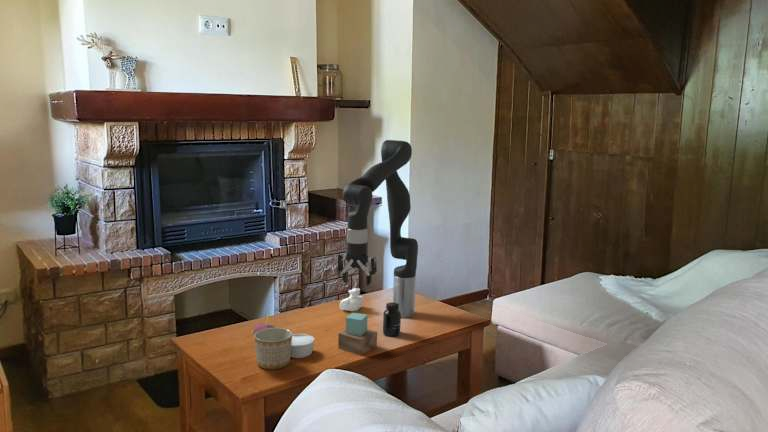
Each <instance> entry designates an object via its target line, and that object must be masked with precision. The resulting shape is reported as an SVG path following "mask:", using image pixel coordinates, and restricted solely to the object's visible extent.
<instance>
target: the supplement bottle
mask: <svg viewBox="0 0 768 432" xmlns="http://www.w3.org/2000/svg"><path fill="white" fill-rule="evenodd" d="M385 304H386V305H385V310H384V311H383V315H382V316H383V317H382V334H383V335H384V336H385V337H398V336H399V335H400V334H401V324H402V323H401V312H400V311H399V310H398V309H399V304H398V303H394V302H393V301H392V302H391V301H390V302H386V303H385Z"/></svg>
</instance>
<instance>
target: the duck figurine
mask: <svg viewBox="0 0 768 432" xmlns="http://www.w3.org/2000/svg"><path fill="white" fill-rule="evenodd" d="M348 293H349V297H347V298H344V299H342V300H341V301H340V302H339V308H340V310H341V311H347V312H348V311H349V312H357V311H358V310H359V309H361V308H362V305H363V304H364V301H365V298H364V297H363V295H360V294H361V288H357V287H353V288H352V289H348Z"/></svg>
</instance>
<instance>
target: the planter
mask: <svg viewBox="0 0 768 432" xmlns="http://www.w3.org/2000/svg"><path fill="white" fill-rule="evenodd" d="M292 335H293V332H292V331H291V330H290V329H287V328H283V327H275V328H267V329H263V330H260V331H258V332H256V333H255V335H253V336H254V346H255V354H256V362H257V365H258V366H259V367H260V368H263V369H266V370H277V369H283V368H285V367H286V366H288V365H289V364H290V362H291V357H290V355H291V344H292Z"/></svg>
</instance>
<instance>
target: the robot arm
mask: <svg viewBox="0 0 768 432" xmlns="http://www.w3.org/2000/svg"><path fill="white" fill-rule="evenodd" d="M412 154H413V149H412V146H411V144H410V142H409V141H405V140H397V139H396V140H394V139H386V140H384V141H383V142H382V145H381V148H380V155H381V156H380V157H381V161H380V162H378V163H377V164H375V165H373V166H371V167H370V168H368V170H366V171H365V172H364V173H363V174H362V176H360V177H358V178H356V179H354V180H352V181H351V182H349V183H348V184H346V186H345V187H344V189H343V190H342V199H343V201H344V203H346V204H349V205H354V206H358V208H357V210H352V211H350V212H349V213H348V214H347V230H346V231H347V232H346V254H343V253H341V254H338V257H337V272H341V273H342V282H343V283H344V284H347V283H348V282H349V272H348V271H349V269H350V268H352V269H361V270H362V271H364V273H365V274H366V276H365V278H366V279H365V286H367V287H368V286H370V285H371V284H372V277H373V276H372V275H375V274H376V273H377V272H378V270H377V269H378V268H377V258H376V256H373V257H369V255H368V252H369V250H368V249H369V248H368V247H369V246H368V245H369V242H368V241H369V236H368V235H369V234H368V216H369V211H370V207H371V204H372V201H373V192H375V191H376V190H377V189H378V188H379V187H380V185H382V183H383V182H385V186H386V187H385V188H386V200H387V208H388V218H389V247H390V248H389V249H390V255H391V256H392V258H393V259H397V260H405V264H404V265H403V264H402V265H400V266H399V265H398V266H396V267H394V269H393V285H392V286H393V289H392V290H393V292H392V293H393V296H392V302H394V303H398V304H399V309H398V310H399V311H400V312H401V318H412V317H414V316H415V306H416V277H417V276H416V275H417V273H416V272H417V268H418V267H417V266H418V254H419V244H418V243H419V242H418V240H417V239H416V238H410V237H405V236H404V237H402V235H401V231H402V230H401V229H402V227H403V224H404V222H405V221H406V219H407V218H408V216H409V215H410V213H411V207H412V206H411V196H410V195H411V194H410V191H409V189H408V188H407V186H406V184H405V182H403V180H402V179H401V177H400V176H399V174H398V173H399V172H398V170H399V169H401V168H403V167H404V166H406V165H407V164H408V163H409V161H410V160H411V158H412ZM344 261H346V262H347V264H346V265H345V266H344ZM368 262H369V264H370V266H369V264H368Z"/></svg>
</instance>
